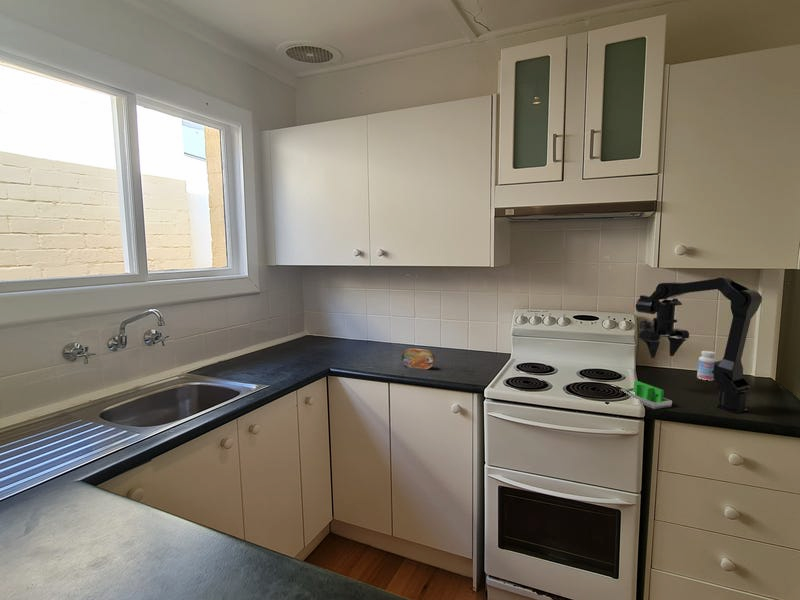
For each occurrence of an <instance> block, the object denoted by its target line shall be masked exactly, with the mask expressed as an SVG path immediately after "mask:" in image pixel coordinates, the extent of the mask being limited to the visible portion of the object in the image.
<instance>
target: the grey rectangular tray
mask: <svg viewBox="0 0 800 600" xmlns="http://www.w3.org/2000/svg"><path fill="white" fill-rule="evenodd" d="M620 390H621V391H623V392H624V393H626V394H628V395H629V396H631V397H633V398H636V399H639V400H640V401H641V402H642V403H643V404H644V405H643V404H642V405H643V406H646V407H648V408H651V409H653V410H657V409H663V408H670V407H672V404H673V401H672V400H671V399H668V398H666V397H663V401H662V402H656V401H653V400H652V401H650V400H647V399H645V398H643V397H639V396H637V395H634V394H632V393H629V392H627V391H633V390H634V387H627V388H620V389H619V391H620Z"/></svg>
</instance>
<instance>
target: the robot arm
mask: <svg viewBox="0 0 800 600" xmlns="http://www.w3.org/2000/svg"><path fill="white" fill-rule="evenodd" d="M715 290H716V291H717V290H718V291H719V292H720V294H722V295H723V297H725V298H726V299H728V300H729V301H730V310H731V311H730V312H731V314H732V320H731V324H730V328H729V333H728V337H727V341H726V345H725V351H724V354H723V357H722V359H721V360H717V362H715V363H714V370H713V371H712V373H714V374H713V378H714V381H715V382H716V385H717V388H718V391H719V393H718V401H717V403H718V404H715V408H719V409H721V410H725V411H727V412H731V413H734V414H737V413H745V412H749V408H746V404H747V403H746V402H747V394H748V393H747V392H748V391H749V390H750V388H751V387H752V386H751V384H750V382H748V381H747V379H745V377H744V366H743V363H742V357H743V353H744V349H745V345H746V341H747V336H748V332H749V328H750V325H751V320H752V318H753V317H754V316H755V314H756V313H757V312H758V311H759V307H760V306H761V303H762V301H763V297H762V295H761V294H760V292H758V291H757V290H753V289H750V288H748V287H747V286H745V285H743V284H740V283H738V282H736V281H735V280H733V279H731V278H730V277H727V276H724V277H721V276H720V277H715V278H711V279H703V280H696V281H689V282H673V281H672V282H671V281H670V282H661V283H660V282H659V283H658V284H657V286H656V287H655V290H654V291H653V293H651V295H649V296H648V295H644V294H643V295H642V294H641V295H639V299H637V301H636V304H635V310H636V312H638V313H641V314H647V315H655V314H656V317H653V319H652V321H649V322H648V320H640V321H639V325H638V327H639V330H640V331H639V332H638V339H641V341H643V342H644V343H645V344H646V346H647V348H648V352H649V354H650V358H651V359H655V357H656V355H657V352H658V350H659V349H658V348H659V347H660V344H661V341H659V340H660V339H661V338H667V339H668V341H669V356H670V357H674V355H676V353H677V351H678V350H679V349H680V347H681V346H682V345H683V343H684V342H685V341H687V339H690V332H689V331H688V330H687V329H683V328H675V327H674V325H675V323H678V319H675V314H676V313H675V312H676V306H682V305H683V304H682V302H681V301H680V300H679V299H678V298H677V297H681V296H683V295H686V294H690V293H698V292H705V291H706V292H708V291H715ZM672 298H673V299H672ZM660 300H662V301H660Z"/></svg>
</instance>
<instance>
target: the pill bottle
mask: <svg viewBox="0 0 800 600" xmlns="http://www.w3.org/2000/svg"><path fill="white" fill-rule="evenodd" d="M700 354H701V356H700V357H698V365H697V373H696V378H697V379H699V380H701V379H702V381H706V380H708V381H707V382H709V381H710V382H711V381H712V382H714V381H715V380H714V378H713V374H714V373H712V371H713V370H714V363H715V362H717V361H718V360H717V358H716V352H714V351H711V350H702V351H701V352H700ZM713 380H714V381H713Z"/></svg>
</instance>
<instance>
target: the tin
mask: <svg viewBox="0 0 800 600" xmlns="http://www.w3.org/2000/svg"><path fill="white" fill-rule="evenodd" d="M401 361H402V364H404V366H406V367H407V368H411V369H418V370H419V369H420V370H429V369H430V368H432V367H433V366H434V365H435V363H436V362H435V361H436V357H435V354H434V353H433V352H432V351H431V350H429V349H420V348H414V347H413V348H412V347H410V348H407V349H404V351H402V354H401Z"/></svg>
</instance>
